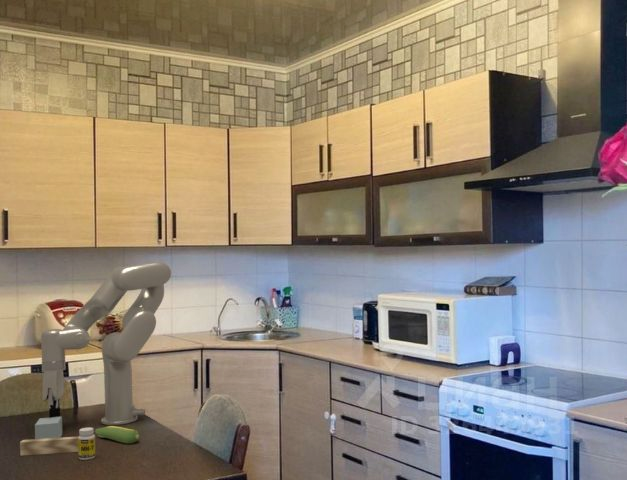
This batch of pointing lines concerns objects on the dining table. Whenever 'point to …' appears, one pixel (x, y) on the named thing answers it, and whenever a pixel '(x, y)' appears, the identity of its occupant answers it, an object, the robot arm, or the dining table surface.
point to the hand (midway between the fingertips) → (55, 419)
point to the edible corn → (118, 434)
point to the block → (48, 428)
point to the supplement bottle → (86, 444)
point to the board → (49, 446)
